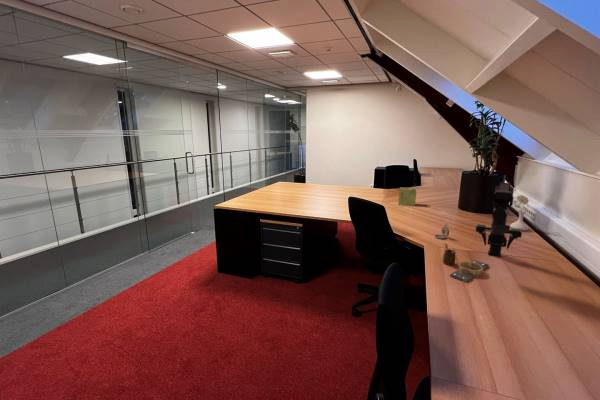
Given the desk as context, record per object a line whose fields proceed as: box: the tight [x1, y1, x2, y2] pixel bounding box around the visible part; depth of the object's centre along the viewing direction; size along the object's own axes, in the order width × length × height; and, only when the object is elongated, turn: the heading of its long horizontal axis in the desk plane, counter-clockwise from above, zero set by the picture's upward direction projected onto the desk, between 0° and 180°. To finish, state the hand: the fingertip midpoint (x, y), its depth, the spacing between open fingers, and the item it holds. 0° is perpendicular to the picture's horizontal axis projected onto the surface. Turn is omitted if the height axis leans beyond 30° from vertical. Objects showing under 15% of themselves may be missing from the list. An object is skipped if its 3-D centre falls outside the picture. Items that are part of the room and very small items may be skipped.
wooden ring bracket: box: [449, 259, 490, 283], centre depth 154 cm, size 27×11×3 cm, turn 129°
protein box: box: [397, 187, 417, 207], centre depth 290 cm, size 10×15×16 cm
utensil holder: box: [442, 243, 456, 266], centre depth 163 cm, size 6×6×12 cm
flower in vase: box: [509, 194, 530, 231], centre depth 216 cm, size 13×11×25 cm
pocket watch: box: [434, 223, 450, 240], centre depth 201 cm, size 8×8×10 cm
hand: (496, 247), depth 149 cm, fingers open, 9 cm apart
